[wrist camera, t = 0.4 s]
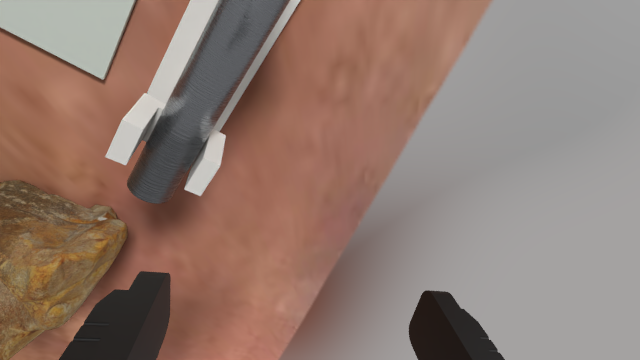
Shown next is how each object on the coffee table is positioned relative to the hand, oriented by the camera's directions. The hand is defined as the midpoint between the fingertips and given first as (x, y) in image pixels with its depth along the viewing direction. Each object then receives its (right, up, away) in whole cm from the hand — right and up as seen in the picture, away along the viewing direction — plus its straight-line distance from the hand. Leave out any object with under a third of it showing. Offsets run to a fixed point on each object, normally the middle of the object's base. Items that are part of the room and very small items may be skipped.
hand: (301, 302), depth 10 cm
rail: (-5, +13, +10) cm, 17 cm away
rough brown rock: (-34, -1, +31) cm, 46 cm away
